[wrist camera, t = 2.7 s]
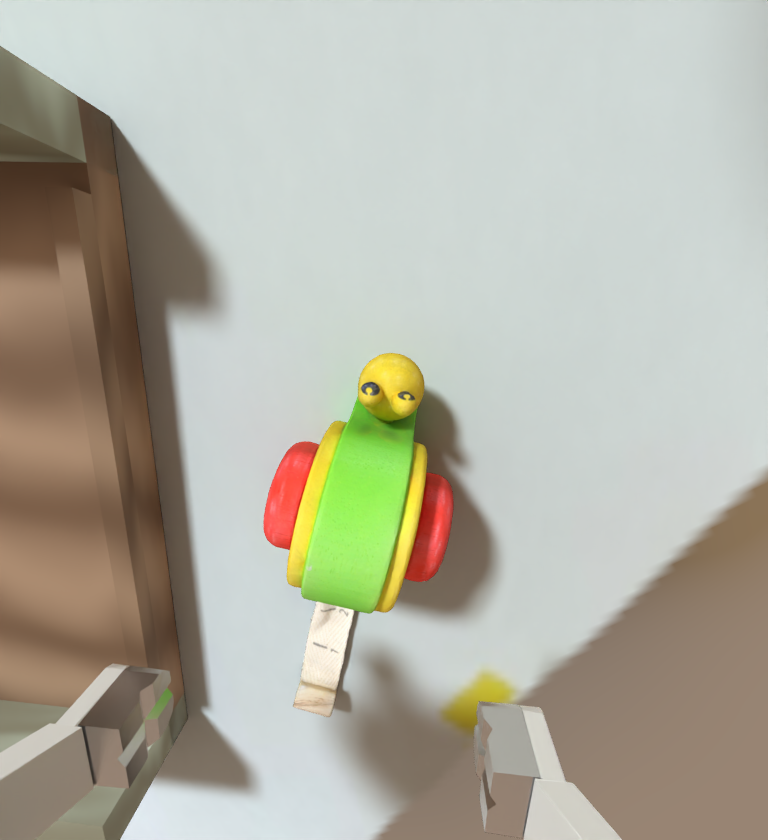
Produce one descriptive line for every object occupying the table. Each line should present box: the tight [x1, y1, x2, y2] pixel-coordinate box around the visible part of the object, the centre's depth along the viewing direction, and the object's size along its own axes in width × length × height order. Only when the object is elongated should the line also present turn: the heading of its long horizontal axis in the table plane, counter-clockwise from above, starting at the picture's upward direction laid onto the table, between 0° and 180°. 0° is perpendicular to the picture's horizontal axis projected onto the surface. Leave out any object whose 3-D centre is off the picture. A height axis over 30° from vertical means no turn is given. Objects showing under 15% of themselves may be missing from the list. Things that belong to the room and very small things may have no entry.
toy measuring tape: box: [264, 353, 453, 717], centre depth 16 cm, size 6×20×7 cm, turn 166°
